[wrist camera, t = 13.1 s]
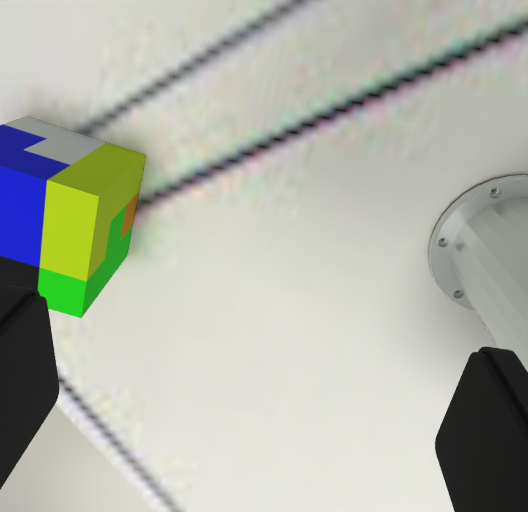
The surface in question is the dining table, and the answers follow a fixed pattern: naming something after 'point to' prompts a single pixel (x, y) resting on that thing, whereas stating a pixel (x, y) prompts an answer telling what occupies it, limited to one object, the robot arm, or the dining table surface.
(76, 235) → the puzzle toy
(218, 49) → the dining table surface
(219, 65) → the dining table surface
